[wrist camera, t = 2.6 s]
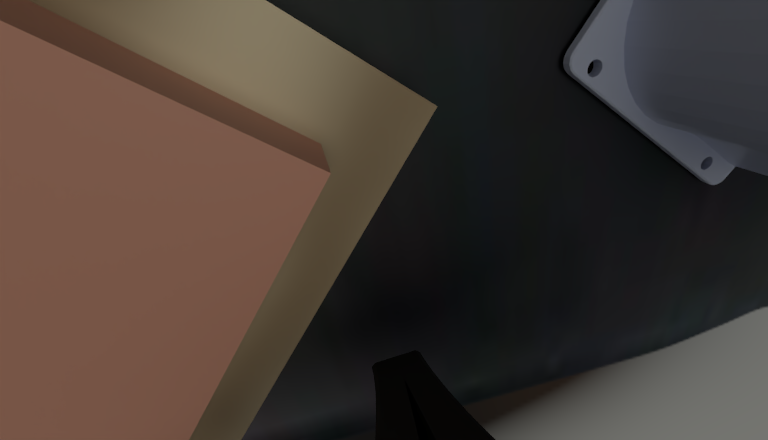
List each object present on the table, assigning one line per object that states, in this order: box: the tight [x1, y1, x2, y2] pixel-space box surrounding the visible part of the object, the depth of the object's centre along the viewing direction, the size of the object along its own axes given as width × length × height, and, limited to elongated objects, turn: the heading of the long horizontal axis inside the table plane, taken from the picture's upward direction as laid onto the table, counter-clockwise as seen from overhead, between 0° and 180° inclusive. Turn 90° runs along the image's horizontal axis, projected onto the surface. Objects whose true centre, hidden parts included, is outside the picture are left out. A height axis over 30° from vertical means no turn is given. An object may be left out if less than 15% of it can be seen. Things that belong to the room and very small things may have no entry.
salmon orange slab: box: [0, 0, 331, 440], centre depth 8 cm, size 8×10×2 cm
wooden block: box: [29, 0, 437, 440], centre depth 9 cm, size 14×14×3 cm
